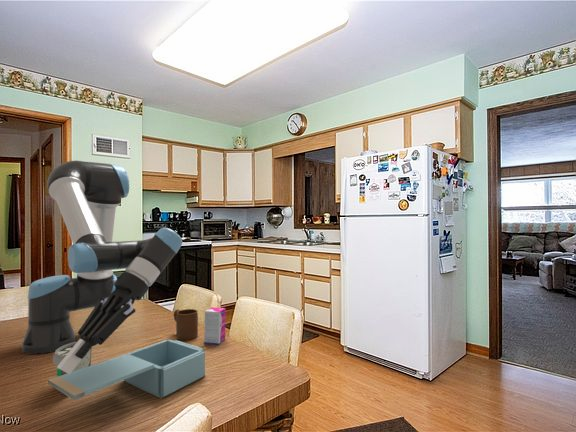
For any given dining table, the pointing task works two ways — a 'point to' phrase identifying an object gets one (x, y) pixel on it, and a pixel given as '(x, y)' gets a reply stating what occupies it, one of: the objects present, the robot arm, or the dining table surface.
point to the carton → (169, 367)
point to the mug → (186, 324)
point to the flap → (99, 376)
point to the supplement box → (214, 325)
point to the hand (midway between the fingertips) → (63, 370)
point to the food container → (63, 351)
